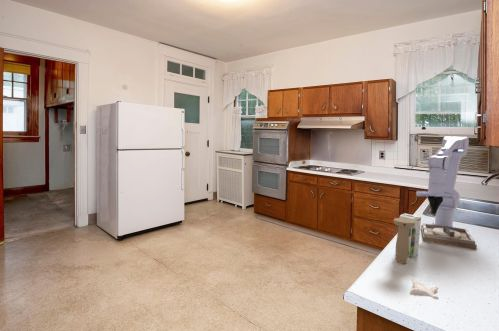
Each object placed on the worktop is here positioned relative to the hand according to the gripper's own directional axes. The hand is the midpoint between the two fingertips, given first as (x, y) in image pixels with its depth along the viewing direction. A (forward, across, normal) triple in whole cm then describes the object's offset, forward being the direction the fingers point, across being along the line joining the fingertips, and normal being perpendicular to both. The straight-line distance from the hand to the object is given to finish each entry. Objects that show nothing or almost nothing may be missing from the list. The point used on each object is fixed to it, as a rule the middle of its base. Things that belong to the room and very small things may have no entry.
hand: (433, 213), depth 129 cm
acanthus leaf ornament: (+10, -14, -56) cm, 58 cm away
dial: (+8, +5, -4) cm, 10 cm away
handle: (+10, -17, -38) cm, 43 cm away
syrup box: (+10, -14, -28) cm, 33 cm away
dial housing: (+9, +4, -4) cm, 11 cm away
